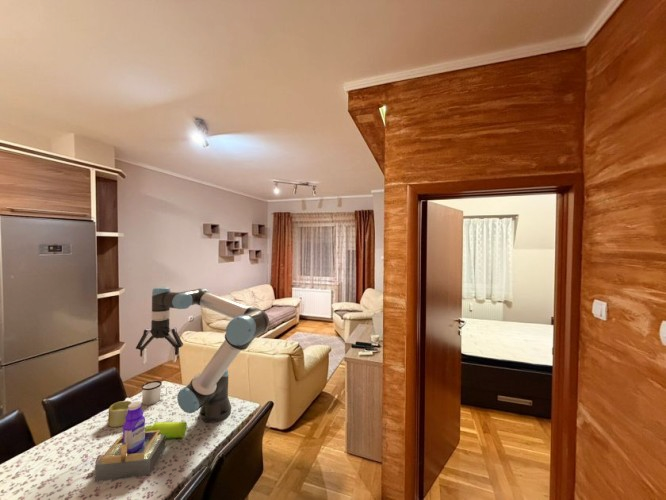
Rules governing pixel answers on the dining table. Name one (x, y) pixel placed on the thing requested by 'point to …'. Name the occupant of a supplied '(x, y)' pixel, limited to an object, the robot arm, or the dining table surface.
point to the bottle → (134, 428)
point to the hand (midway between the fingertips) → (159, 362)
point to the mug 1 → (118, 413)
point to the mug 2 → (151, 392)
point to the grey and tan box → (130, 458)
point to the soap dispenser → (169, 429)
